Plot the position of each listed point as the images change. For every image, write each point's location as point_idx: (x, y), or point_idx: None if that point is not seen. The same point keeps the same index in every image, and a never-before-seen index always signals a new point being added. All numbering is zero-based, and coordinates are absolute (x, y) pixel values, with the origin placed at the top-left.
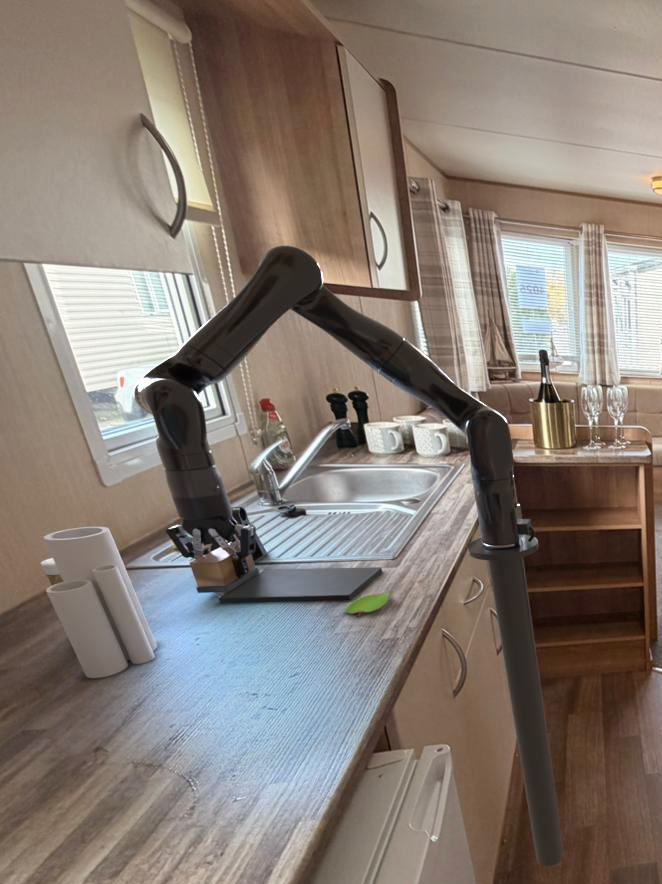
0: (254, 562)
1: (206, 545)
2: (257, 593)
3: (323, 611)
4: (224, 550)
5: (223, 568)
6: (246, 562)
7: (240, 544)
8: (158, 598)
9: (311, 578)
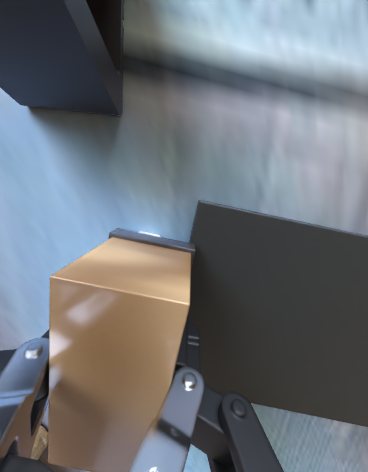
0: (121, 52)
1: (20, 448)
2: (230, 381)
3: (352, 447)
4: (101, 355)
5: None
6: (199, 356)
7: (48, 8)
8: (22, 307)
9: (341, 320)
